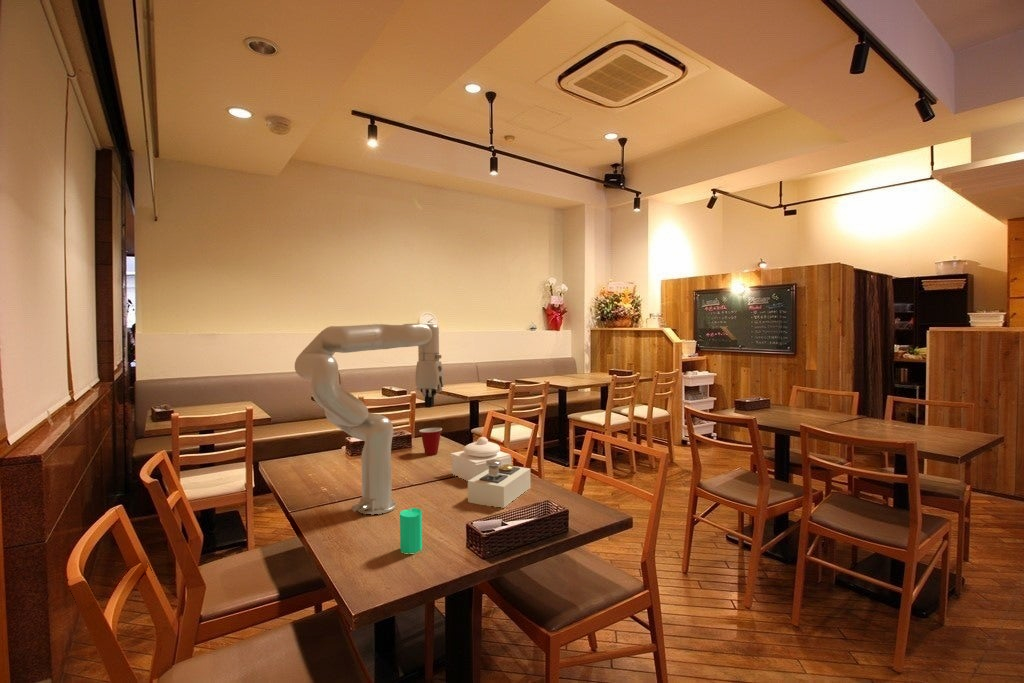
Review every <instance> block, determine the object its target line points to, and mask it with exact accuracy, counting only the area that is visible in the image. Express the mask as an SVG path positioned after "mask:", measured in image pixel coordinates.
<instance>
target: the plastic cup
mask: <svg viewBox="0 0 1024 683" xmlns="http://www.w3.org/2000/svg"><path fill="white" fill-rule="evenodd" d="M442 431H443V428H442V427H430V428H429V427H427V428H423V429H422V428H421V429H419V433H420V436H421V440H422V446H423V450H424V455H426V454H427V455H426V456H435V455H434V454H436V455H437V454H438V452H439V445H440V440H441V439H440V438H441V434H442Z"/></svg>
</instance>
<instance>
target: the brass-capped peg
mask: <svg viewBox="0 0 1024 683" xmlns="http://www.w3.org/2000/svg"><path fill="white" fill-rule="evenodd" d="M500 470H501V471H507V472H510V471H512V470H514V465H513V464H511V465H508V464H505V465H501V466H500Z"/></svg>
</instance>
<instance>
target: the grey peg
mask: <svg viewBox="0 0 1024 683" xmlns="http://www.w3.org/2000/svg"><path fill="white" fill-rule="evenodd" d="M486 465H487V466H489V479H493V480H497V479H499V466H500V465H501V461H500V460H488V461H486Z"/></svg>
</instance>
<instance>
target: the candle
mask: <svg viewBox="0 0 1024 683" xmlns="http://www.w3.org/2000/svg"><path fill="white" fill-rule="evenodd" d="M409 507H410V508H409V509H402V510H401V511H400V512H399V539H400V541H399V545H400V546H399V550H401V551H400V553H401V552H403V553H408V554H410V553H416V552H418V551H420V550H421V549H422V550H423V510H422V509H420V508H418V507H412V506H409ZM422 550H421V551H422Z"/></svg>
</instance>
